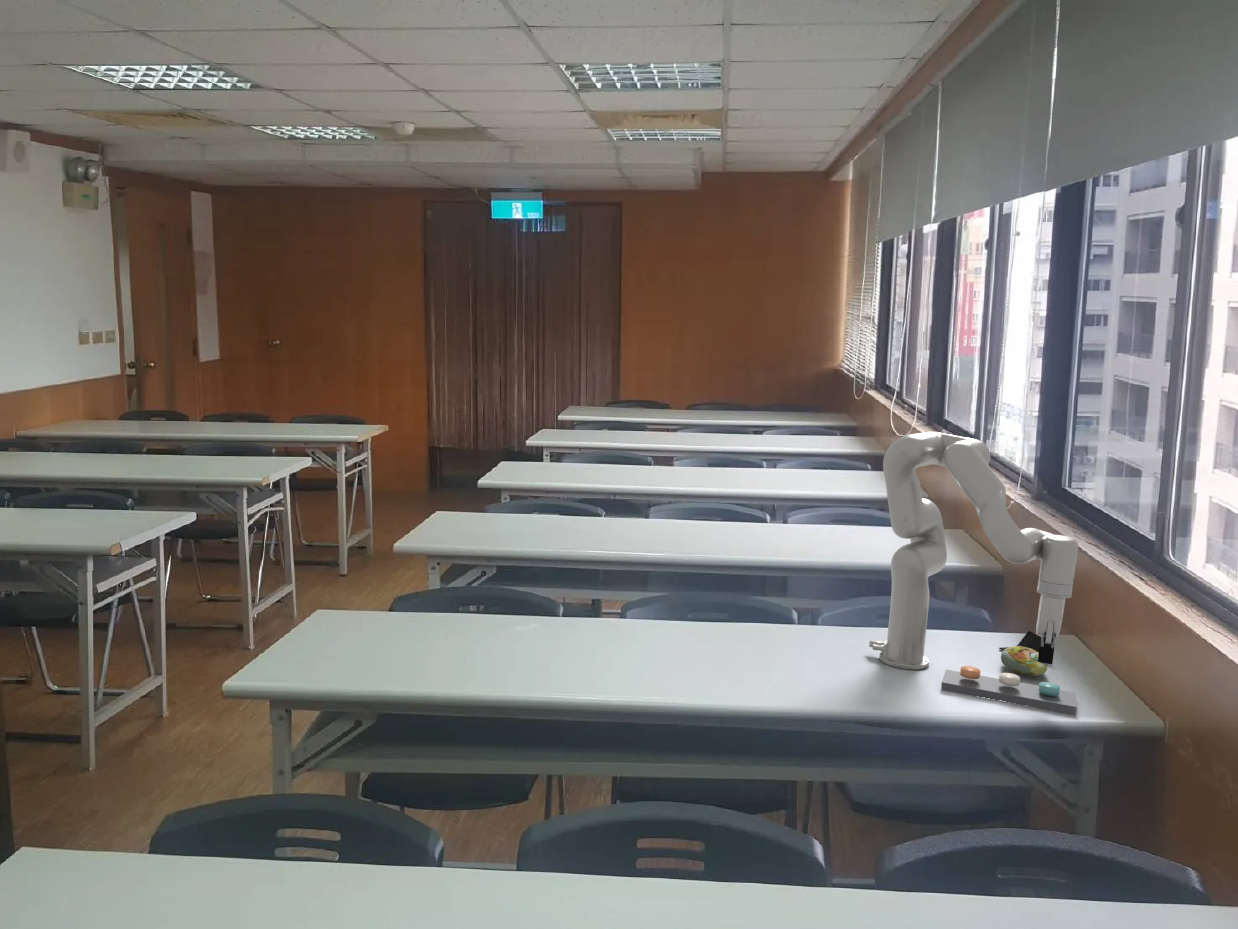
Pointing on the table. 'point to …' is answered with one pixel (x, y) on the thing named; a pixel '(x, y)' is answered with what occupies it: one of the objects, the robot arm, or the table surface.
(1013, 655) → the cell model
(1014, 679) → the button ivory
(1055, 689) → the button teal
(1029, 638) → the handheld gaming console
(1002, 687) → the button panel
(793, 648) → the table surface
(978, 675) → the button terracotta
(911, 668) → the robot arm
